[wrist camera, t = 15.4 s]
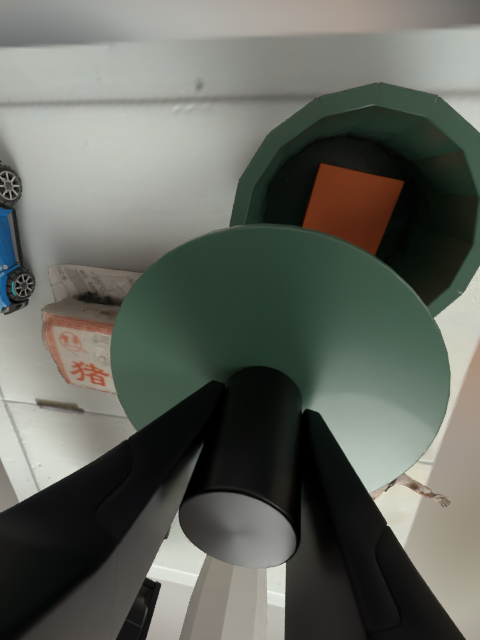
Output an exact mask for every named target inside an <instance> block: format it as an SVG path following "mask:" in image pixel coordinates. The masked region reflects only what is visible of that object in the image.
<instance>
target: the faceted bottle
mask: <svg viewBox="0 0 480 640" xmlns="http://www.w3.org/2000/svg"><path fill="white" fill-rule="evenodd" d="M266 630H267V571H266V568H246V567H240V566H235V565H231V564H228V563H225V562H222V561H220V560H217V559H215V558H213V557H211V556H210V555H208V554H207V555H206V558H205V561H204V563H203V566H202V569H201V571H200V574H199V577H198V579H197V582H196V585H195V587H194V590H193V593H192V595H191V598H190V601H189V605H188V609H187V613H186V616H185V620H184V624H183V628H182V631H181V635H180V639H179V640H266Z"/></svg>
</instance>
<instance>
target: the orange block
mask: <svg viewBox="0 0 480 640" xmlns="http://www.w3.org/2000/svg"><path fill="white" fill-rule="evenodd" d="M404 183H405V181H402V180H398V179H393V178H389V177H384V176H380V175H375V174H370V173H366V172H361V171H357V170H352V169H348V168H343V167H339V166H334V165H330V164H325V163H320V164H319V165H318V166H317V169H316V173H315V176H314V180H313V183H312V187H311V190H310V194H309V197H308V201H307V205H306V208H305V212H304V215H303V219H302V222H301V226H300V227H304V228H309V229H315V230H319V231H322V232H325V233H328V234H331V235H333V236H336V237H339V238H342V239H345V240H347V241H349V242H351V243H353V244H355V245H357V246H359V247H361V248H363V249H365V250H367V251H368V252H370V253H371V254H373V255H374V256H375V254H376V252H377V250H378V247H379V245H380V242H381V240H382V237H383V235H384V232H385V230H386V227H387V225H388V222H389V220H390V217H391V215H392V212H393V210H394V207H395V205H396V203H397V200H398V198H399V195H400V193H401V190H402V188H403V185H404Z"/></svg>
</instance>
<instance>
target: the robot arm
mask: <svg viewBox="0 0 480 640" xmlns="http://www.w3.org/2000/svg"><path fill="white" fill-rule="evenodd" d="M224 389H225V384H224V383H223V382H219V381H216V380H211V381H210V382H208V383H207V384H205V385H204V386H203V387H201V388H200V389H198V390H197V391H195V392H194V393H193V394H191V395H190V396H188V397H187V398H185V399H184V400H182V401H181V402H180V403H178V404H177V405H175V406H174V407H172V408H171V409H170V410H168V411H167V412H165V413H164V414H162V415H161V416H159V417H158V418H157V419H155V420H154V421H152V422H151V423H149V424H148V425H146V426H145V427H144V428H142V429H141V430H139V431H138V432H136V433H135V434H134V435H132V436H131V437H129V438H128V440H125V441H123V442H122V443H120V444H119V445H117V446H116V447H115V448H113V449H112V450H110V451H108V452H107V453H105V454H104V455H102V456H101V457H99V458H98V459H96V460H95V461H93V462H91V463H89V464H88V465H86V466H84V467H83V468H81V469H79V470H77V471H76V472H74V473H72V474H70V475H69V476H67V477H65V478H63V479H61V480H60V481H58V482H56V483H54V484H52V485H51V486H49V487H47V488H45V489H43V490H42V491H40V492H38V493H36V494H34V495H33V496H31V497H29V498H27V499H25V500H24V501H22V502H20V503H18V504H16V505H15V506H13V507H11V508H9V509H7V510H5V511H3V512H1V513H0V640H146V637H147V633H148V630H149V626H150V623H151V619H152V616H153V612H154V608H155V605H156V601H157V598H158V594H159V591H160V587H161V583H159V582H157V581H156V582H154V581H152V580H150V579H148V578H146V575H147V573H148V571H149V569H150V567H151V565H152V563H153V561H154V559H155V556H156V554H157V552H158V550H159V548H160V546H161V544H162V542H163V540H164V539H167V538H168V536H169V532H170V527H171V523H172V521H173V519H174V517H175V515H176V513H177V511H178V508H179V506H180V504H181V501H182V499H183V496H184V493H185V491H186V488H187V485H188V483H189V480H190V478H191V475H192V472H193V470H194V467H195V464H196V462H197V459H198V457H199V454H200V451H201V449H202V446H203V443H204V441H205V438H206V436H207V433H208V430H209V428H210V426H211V423H212V421H213V418H214V416H215V413H216V410H217V408H218V405H219V402H220V400H221V397H222V395H223V392H224ZM285 640H466V639H465V638H464V637H463V635H462V634H461V632H460V631H459V629H458V628H457V626H456V625H455V624H454V622H453V621H452V620H451V618H450V617H449V615H448V614H447V612H446V611H445V610H444V608H443V607H442V605H441V604H440V603H439V601H438V600H437V598H436V597H435V596H434V594H433V593H432V591H431V590H430V588H429V587H428V586H427V584H426V582H425V581H424V580H423V578H422V577H421V575H420V574H419V572H418V571H417V569H416V568H415V566H414V565H413V563H412V562H411V560H410V559H409V557H408V555H407V554H406V552H405V551H404V549H403V548H402V546H401V544H400V543H399V541H398V540H397V538H396V536H395V535H394V533H393V532H392V530H391V528H390V527H389V526H387V522H386V520H385V519H384V517H383V515H382V514H381V512H380V511H379V509H378V507H377V506H376V504H375V502H374V501H373V499H372V498H371V496H370V494H369V493H368V491H367V489H366V488H365V486H364V484H363V483H362V481H361V480H360V478H359V476H358V475H357V473H356V471H355V470H354V468H353V467H352V465H351V463H350V462H349V460H348V458H347V457H346V455H345V453H344V452H343V450H342V449H341V447H340V445H339V444H338V442H337V440H336V439H335V437H334V436H333V434H332V432H331V431H330V429H329V427H328V426H327V424H326V422H325V421H324V419H323V418H322V416H321V414H320V413H319V412H317V411H313V410H310V409H305V410H304V411H303V414H302V480H301V541H300V545H299V548H298V550H297V552H296V553H295V555H294V556H293V557H292V558H291V559H290V560H288V561H287V562H286V591H285Z"/></svg>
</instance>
